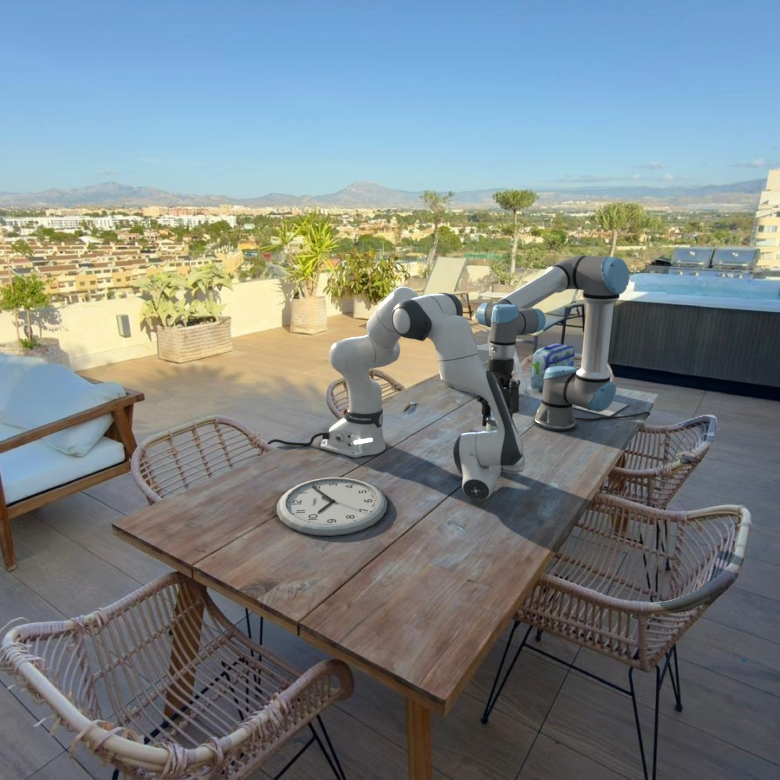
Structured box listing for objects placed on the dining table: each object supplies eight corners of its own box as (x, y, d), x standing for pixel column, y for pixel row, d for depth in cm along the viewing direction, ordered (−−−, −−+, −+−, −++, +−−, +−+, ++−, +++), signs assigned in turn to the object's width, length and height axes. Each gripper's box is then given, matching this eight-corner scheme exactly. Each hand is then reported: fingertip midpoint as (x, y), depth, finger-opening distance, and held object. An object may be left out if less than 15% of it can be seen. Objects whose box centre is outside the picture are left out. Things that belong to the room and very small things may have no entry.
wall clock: (392, 527, 129) (268, 531, 127) (391, 533, 130) (269, 537, 127) (383, 473, 158) (282, 475, 155) (383, 478, 158) (282, 480, 156)
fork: (400, 412, 215) (400, 407, 215) (412, 400, 229) (412, 396, 229) (406, 412, 214) (406, 408, 214) (418, 401, 229) (418, 397, 228)
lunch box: (547, 395, 239) (552, 351, 233) (526, 390, 247) (530, 347, 240) (574, 384, 257) (579, 343, 251) (554, 380, 264) (558, 339, 258)
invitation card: (608, 416, 214) (573, 407, 224) (608, 416, 214) (573, 408, 224) (628, 404, 229) (594, 396, 238) (628, 405, 229) (594, 397, 238)
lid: (492, 416, 166) (493, 411, 166) (511, 421, 162) (511, 416, 161) (481, 421, 162) (481, 416, 161) (499, 427, 157) (500, 422, 157)
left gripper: (523, 462, 149) (528, 444, 161) (453, 451, 155) (463, 435, 168) (521, 482, 151) (526, 463, 163) (452, 470, 157) (462, 453, 170)
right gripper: (468, 352, 161) (463, 421, 168) (520, 366, 146) (513, 441, 153) (484, 349, 165) (479, 417, 172) (537, 362, 150) (529, 436, 157)
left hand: (494, 448), depth 165 cm, fingers closed on jar, 5 cm apart
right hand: (495, 428), depth 162 cm, fingers open, 7 cm apart
